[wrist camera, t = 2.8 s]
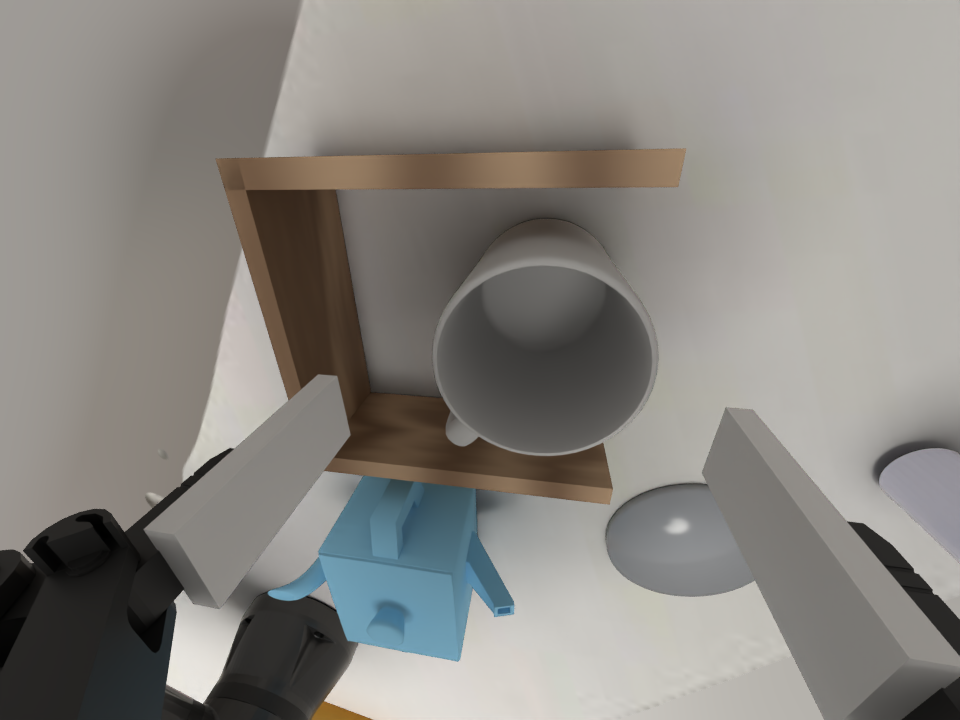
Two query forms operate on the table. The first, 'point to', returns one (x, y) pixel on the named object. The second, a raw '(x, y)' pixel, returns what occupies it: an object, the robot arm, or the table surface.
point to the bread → (335, 713)
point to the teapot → (405, 567)
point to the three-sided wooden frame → (333, 316)
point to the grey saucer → (676, 543)
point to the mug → (544, 345)
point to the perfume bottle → (928, 493)
